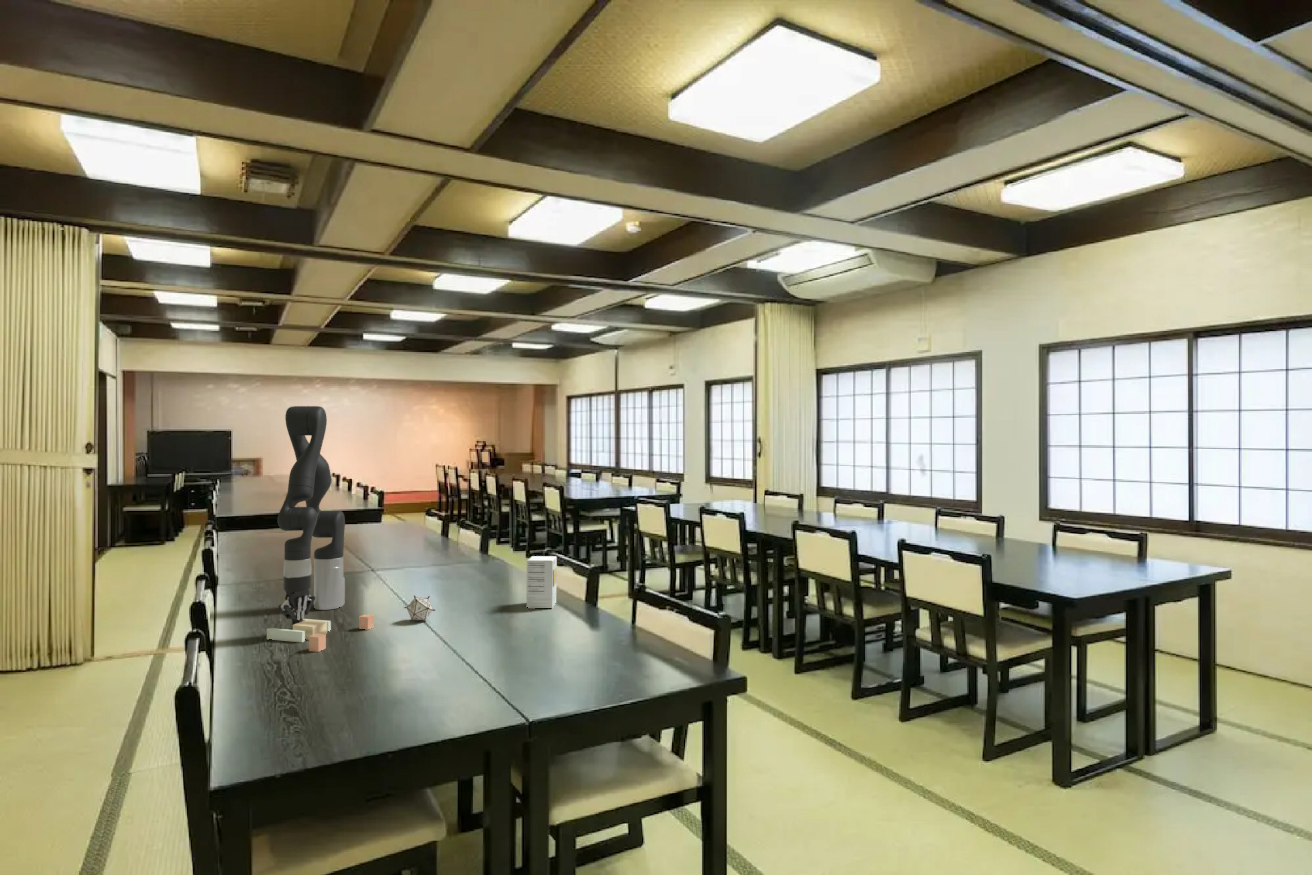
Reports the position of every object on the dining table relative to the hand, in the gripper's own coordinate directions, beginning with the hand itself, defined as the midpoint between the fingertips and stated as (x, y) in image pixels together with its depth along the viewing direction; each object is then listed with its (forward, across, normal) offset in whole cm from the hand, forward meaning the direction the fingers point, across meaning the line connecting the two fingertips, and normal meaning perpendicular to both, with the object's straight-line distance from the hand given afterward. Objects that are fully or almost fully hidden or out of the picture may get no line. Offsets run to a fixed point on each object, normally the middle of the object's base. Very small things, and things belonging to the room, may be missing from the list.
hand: (297, 631), depth 214 cm
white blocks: (+1, 0, +1) cm, 1 cm away
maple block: (+1, 0, +5) cm, 5 cm away
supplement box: (+1, -53, +56) cm, 77 cm away
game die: (+1, -23, +26) cm, 35 cm away
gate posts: (+1, 0, +16) cm, 16 cm away
